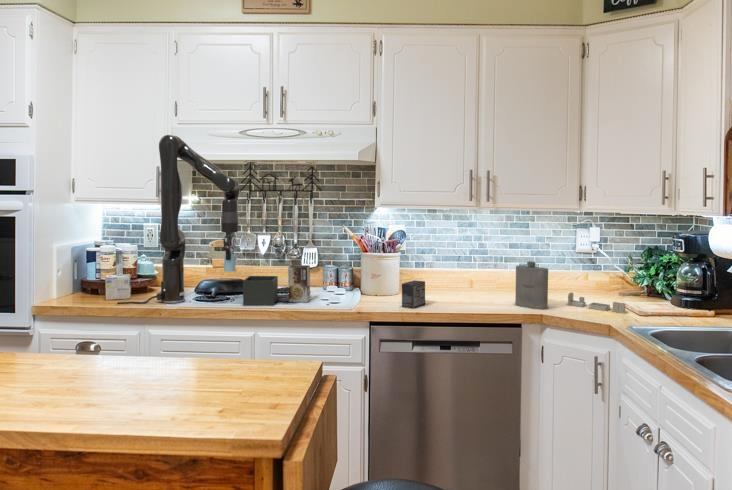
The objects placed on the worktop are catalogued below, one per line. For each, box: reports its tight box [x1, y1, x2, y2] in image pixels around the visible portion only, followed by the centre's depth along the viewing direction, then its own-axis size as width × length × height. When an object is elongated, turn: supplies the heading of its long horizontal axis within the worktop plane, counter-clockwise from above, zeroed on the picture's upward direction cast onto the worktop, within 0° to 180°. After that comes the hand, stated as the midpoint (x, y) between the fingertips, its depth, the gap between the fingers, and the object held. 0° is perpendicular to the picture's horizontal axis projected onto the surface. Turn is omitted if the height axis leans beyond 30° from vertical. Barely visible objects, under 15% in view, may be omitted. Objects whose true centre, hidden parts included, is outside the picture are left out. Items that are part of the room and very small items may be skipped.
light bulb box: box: [104, 273, 132, 301], centre depth 286 cm, size 11×7×11 cm, turn 108°
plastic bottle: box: [223, 248, 236, 273], centre depth 277 cm, size 5×5×10 cm
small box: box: [401, 280, 426, 309], centre depth 273 cm, size 11×6×10 cm, turn 145°
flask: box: [514, 260, 549, 310], centre depth 272 cm, size 15×6×20 cm, turn 48°
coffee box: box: [287, 264, 311, 303], centre depth 282 cm, size 9×6×16 cm
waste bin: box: [242, 275, 279, 307], centre depth 278 cm, size 13×13×11 cm
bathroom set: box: [567, 291, 626, 314], centre depth 269 cm, size 25×5×5 cm, turn 49°
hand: (229, 258), depth 277 cm, fingers closed on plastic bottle, 4 cm apart
